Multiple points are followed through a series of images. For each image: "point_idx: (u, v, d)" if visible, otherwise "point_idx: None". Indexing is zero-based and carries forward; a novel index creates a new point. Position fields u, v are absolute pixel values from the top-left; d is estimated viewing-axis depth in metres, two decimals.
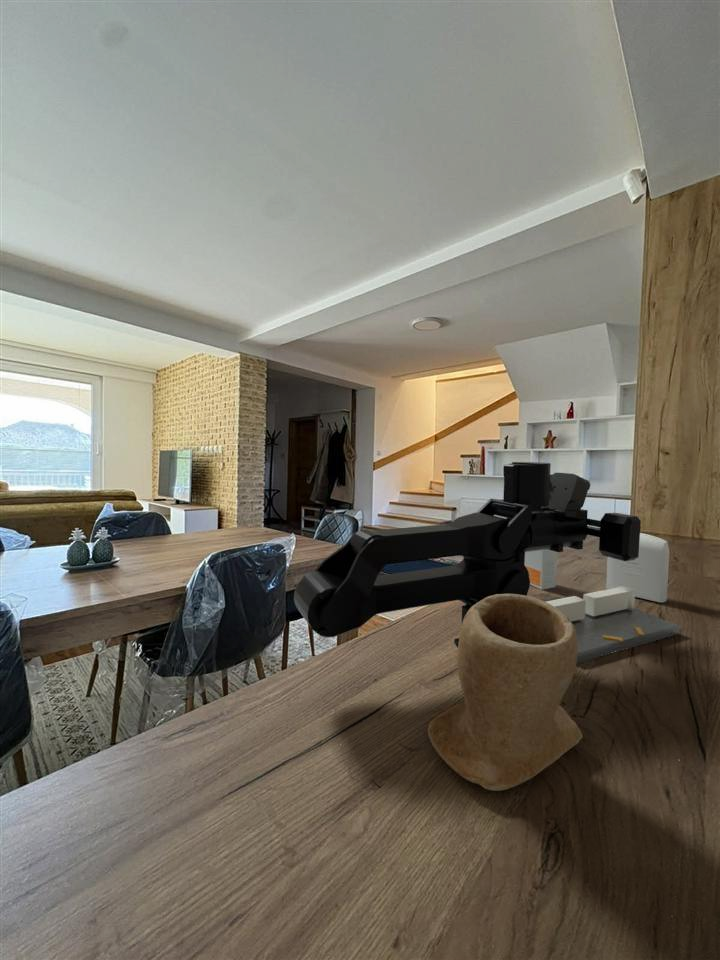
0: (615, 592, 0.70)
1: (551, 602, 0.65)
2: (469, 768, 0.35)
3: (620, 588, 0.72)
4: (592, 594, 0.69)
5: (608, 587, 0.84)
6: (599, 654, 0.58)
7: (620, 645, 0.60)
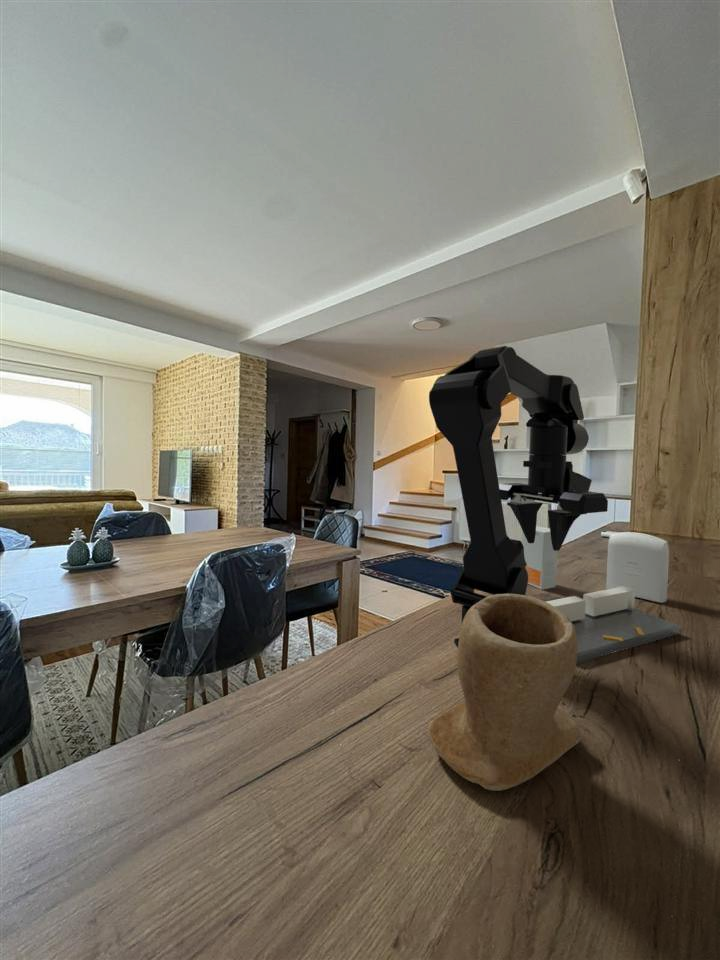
0: (615, 592, 0.70)
1: (551, 602, 0.65)
2: (469, 768, 0.35)
3: (620, 588, 0.72)
4: (592, 594, 0.69)
5: (608, 587, 0.84)
6: (599, 654, 0.58)
7: (620, 645, 0.60)
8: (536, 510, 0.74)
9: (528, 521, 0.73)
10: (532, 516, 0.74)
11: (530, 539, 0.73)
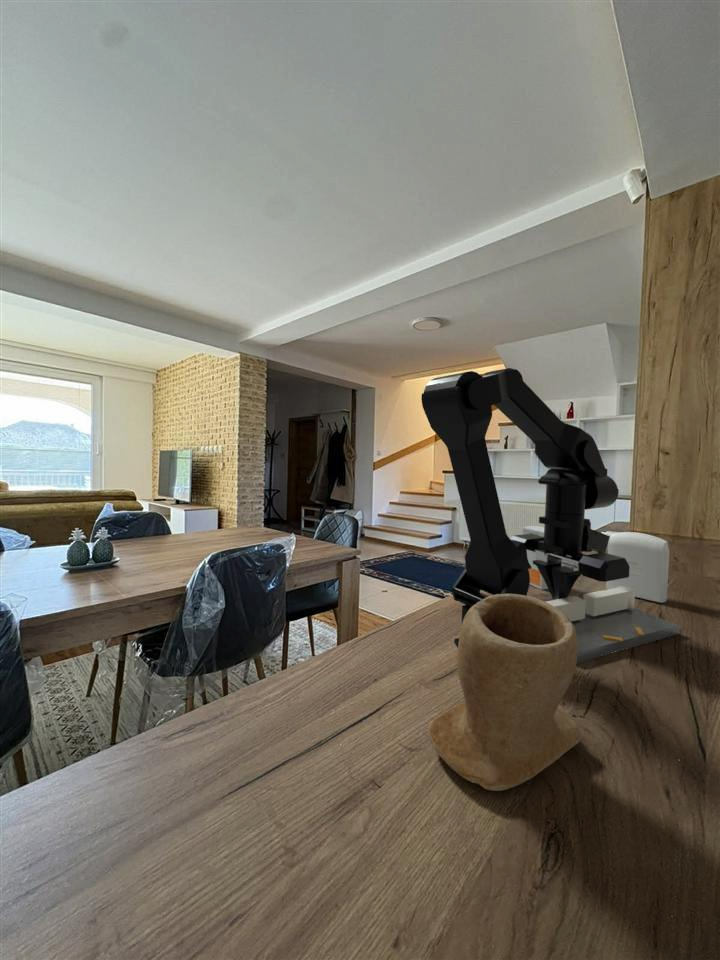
0: (615, 592, 0.70)
1: (551, 602, 0.65)
2: (469, 768, 0.35)
3: (620, 588, 0.72)
4: (592, 594, 0.69)
5: (608, 587, 0.84)
6: (599, 654, 0.58)
7: (620, 645, 0.60)
8: None
9: None
10: None
11: None
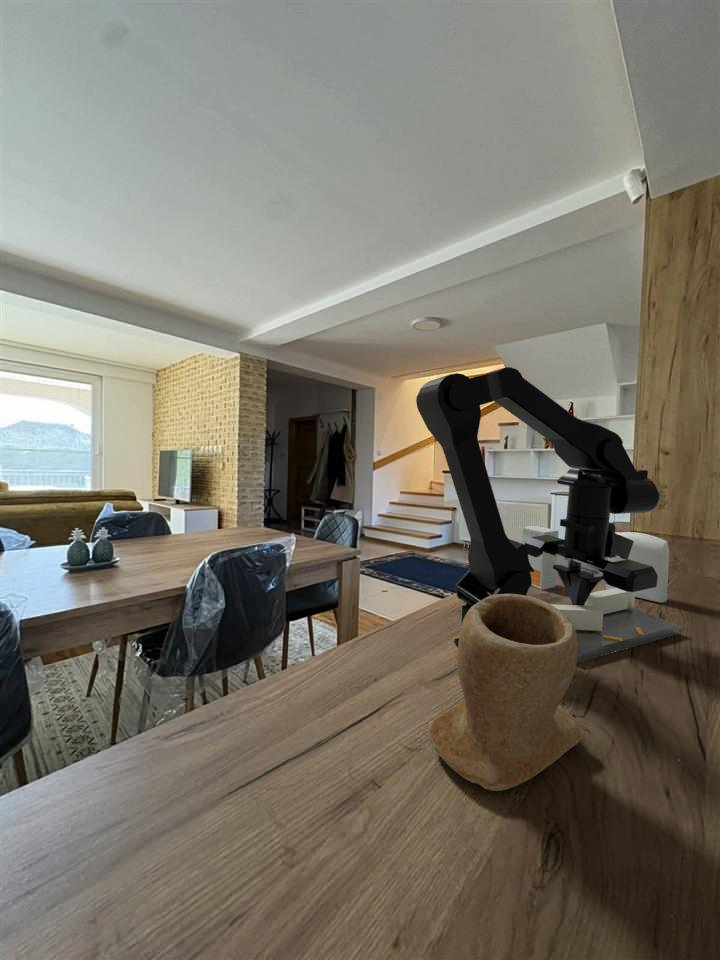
0: (615, 592, 0.70)
1: (558, 606, 0.64)
2: (469, 768, 0.35)
3: None
4: (592, 594, 0.69)
5: (608, 587, 0.84)
6: (599, 654, 0.58)
7: (620, 645, 0.60)
8: None
9: None
10: None
11: None
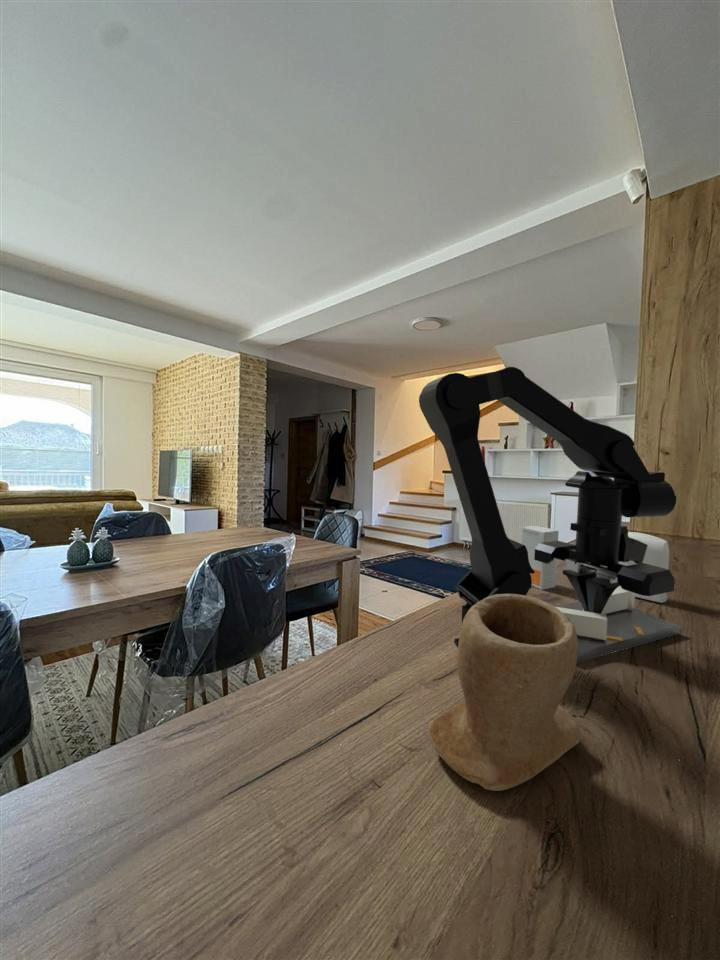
0: (615, 592, 0.70)
1: (561, 609, 0.63)
2: (469, 768, 0.35)
3: (620, 588, 0.72)
4: None
5: None
6: (599, 654, 0.58)
7: (620, 645, 0.60)
8: None
9: None
10: None
11: None
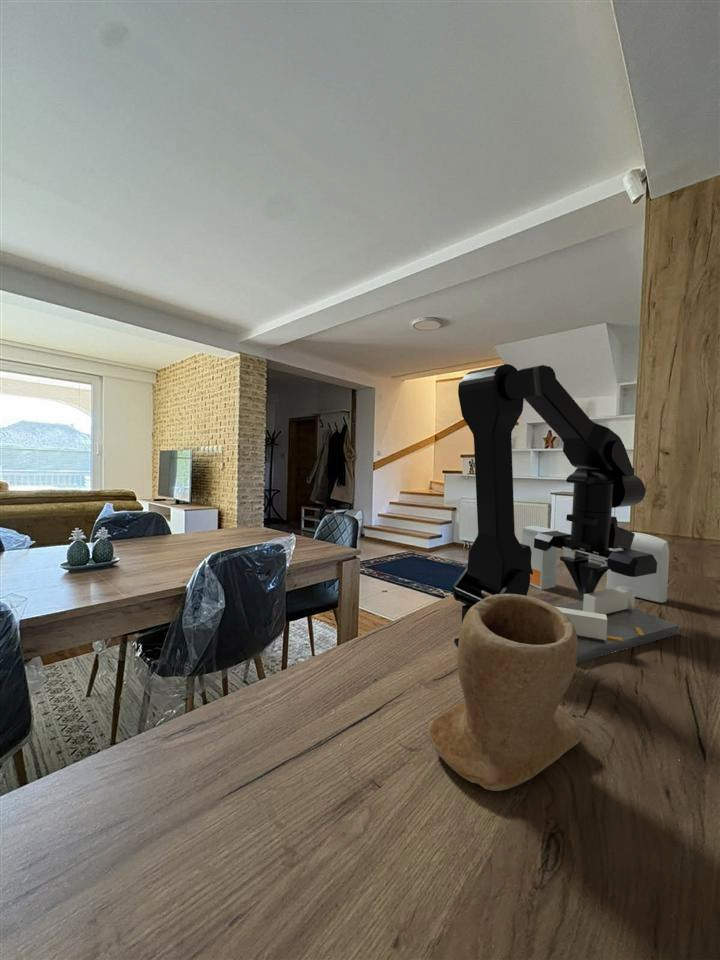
0: (616, 592, 0.70)
1: (561, 609, 0.63)
2: (469, 768, 0.35)
3: (620, 588, 0.72)
4: (592, 594, 0.69)
5: (608, 587, 0.84)
6: (599, 654, 0.58)
7: (620, 645, 0.60)
8: None
9: None
10: None
11: None
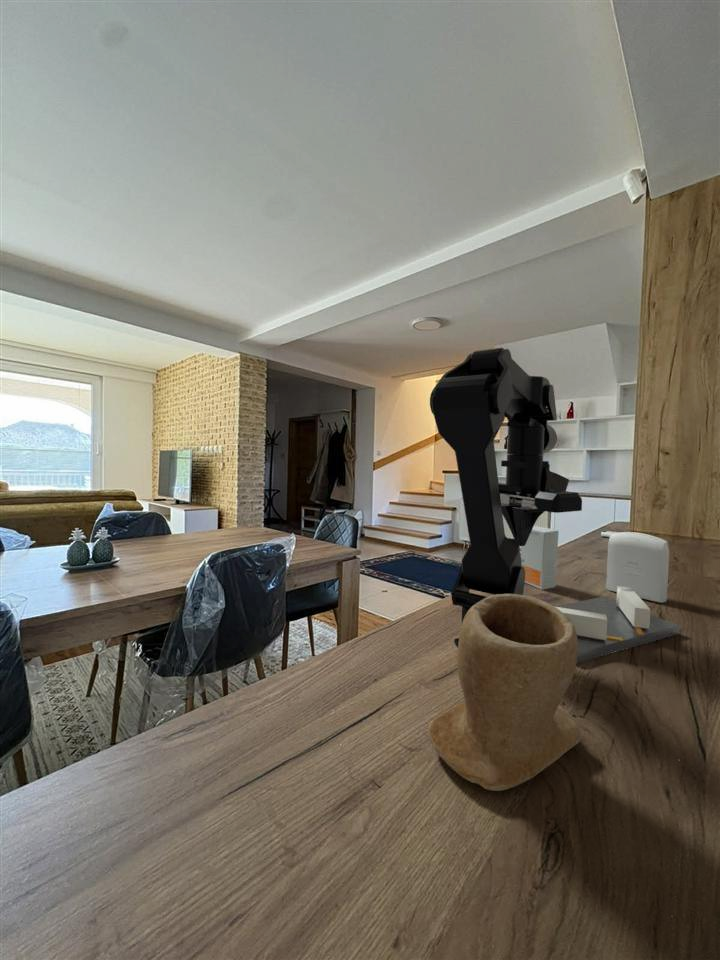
0: (634, 595, 0.68)
1: (561, 609, 0.63)
2: (469, 768, 0.35)
3: (623, 589, 0.71)
4: (637, 605, 0.64)
5: (608, 587, 0.84)
6: (599, 654, 0.58)
7: (620, 645, 0.60)
8: None
9: None
10: None
11: None
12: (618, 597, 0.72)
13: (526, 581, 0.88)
